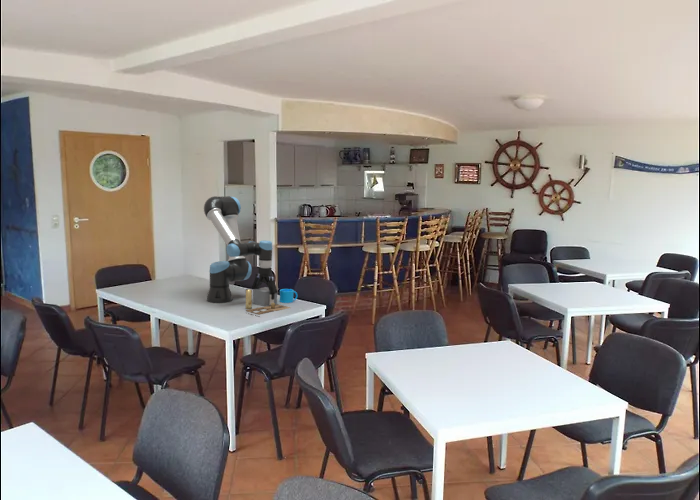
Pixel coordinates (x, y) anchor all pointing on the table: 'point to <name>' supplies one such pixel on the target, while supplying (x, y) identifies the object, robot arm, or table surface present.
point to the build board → (259, 310)
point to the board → (276, 307)
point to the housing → (262, 296)
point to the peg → (248, 299)
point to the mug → (287, 295)
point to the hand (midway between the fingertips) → (264, 302)
